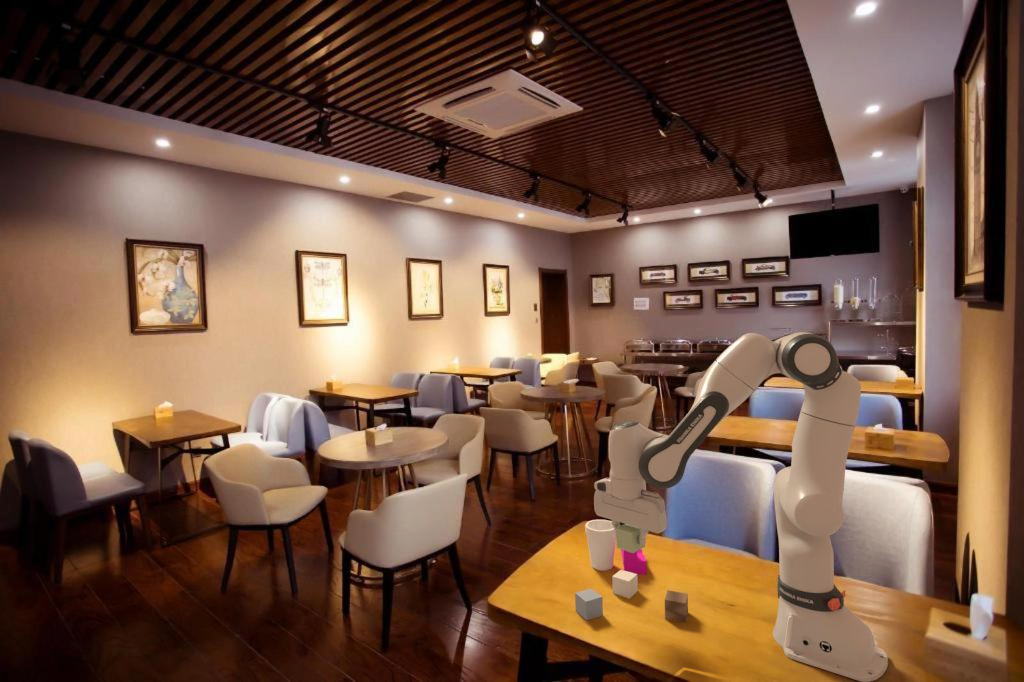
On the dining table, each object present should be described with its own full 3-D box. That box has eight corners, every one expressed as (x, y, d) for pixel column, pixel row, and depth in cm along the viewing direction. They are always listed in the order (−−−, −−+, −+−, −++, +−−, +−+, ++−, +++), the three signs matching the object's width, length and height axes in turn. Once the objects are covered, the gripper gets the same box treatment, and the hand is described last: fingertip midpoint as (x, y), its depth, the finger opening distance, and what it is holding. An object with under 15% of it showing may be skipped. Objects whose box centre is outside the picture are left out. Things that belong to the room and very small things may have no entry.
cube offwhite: (637, 592, 149) (637, 574, 149) (629, 599, 145) (628, 581, 145) (621, 586, 152) (620, 569, 152) (612, 594, 149) (612, 576, 148)
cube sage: (645, 546, 137) (644, 527, 136) (633, 553, 133) (632, 533, 133) (628, 541, 140) (627, 522, 140) (616, 547, 137) (615, 528, 137)
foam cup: (594, 576, 159) (592, 533, 158) (581, 563, 168) (580, 521, 167) (623, 571, 161) (622, 528, 161) (609, 558, 170) (608, 518, 170)
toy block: (646, 576, 158) (645, 551, 158) (624, 575, 159) (623, 550, 159) (640, 554, 173) (640, 531, 173) (621, 553, 174) (620, 530, 174)
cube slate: (602, 616, 138) (602, 596, 138) (586, 621, 136) (585, 601, 136) (591, 606, 142) (591, 588, 142) (575, 611, 140) (575, 592, 140)
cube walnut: (688, 612, 138) (687, 593, 138) (686, 623, 133) (685, 603, 133) (667, 609, 140) (667, 590, 140) (665, 619, 135) (664, 599, 135)
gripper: (671, 491, 130) (673, 548, 131) (604, 476, 146) (607, 527, 146) (655, 498, 126) (658, 556, 127) (589, 481, 142) (591, 534, 142)
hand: (630, 540), depth 137 cm, fingers closed on cube sage, 5 cm apart
